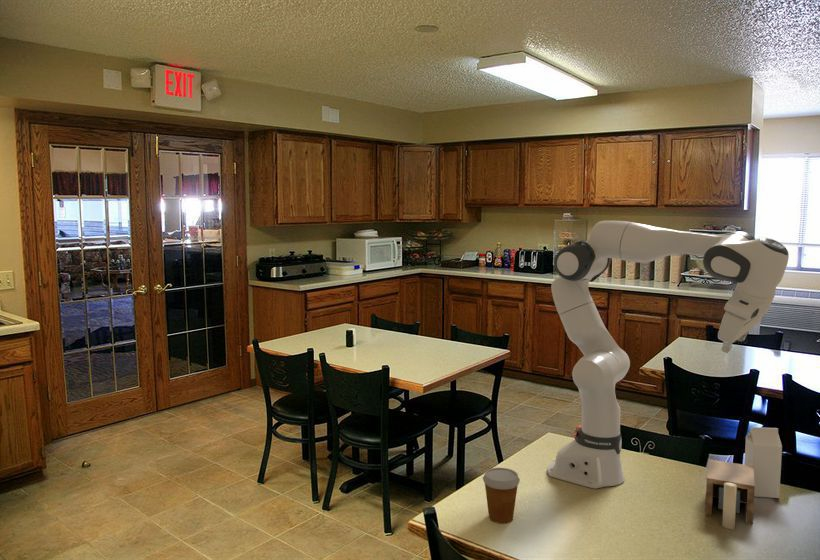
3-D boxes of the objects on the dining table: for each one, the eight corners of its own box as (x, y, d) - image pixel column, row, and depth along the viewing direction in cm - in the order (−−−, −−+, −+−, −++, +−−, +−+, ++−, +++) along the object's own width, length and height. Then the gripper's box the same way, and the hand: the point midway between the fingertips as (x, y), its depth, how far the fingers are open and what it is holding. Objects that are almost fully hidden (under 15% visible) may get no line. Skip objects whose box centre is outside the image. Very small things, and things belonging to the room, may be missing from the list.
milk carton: (779, 498, 171) (783, 432, 169) (751, 496, 173) (754, 431, 171) (769, 487, 178) (773, 424, 176) (743, 485, 180) (746, 422, 178)
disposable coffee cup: (496, 530, 155) (497, 484, 154) (475, 514, 164) (475, 471, 162) (526, 521, 160) (527, 477, 158) (504, 506, 168) (505, 464, 167)
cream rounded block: (717, 526, 156) (719, 485, 155) (718, 501, 170) (720, 462, 169) (739, 531, 154) (741, 489, 153) (739, 504, 168) (741, 466, 167)
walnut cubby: (705, 514, 162) (706, 477, 161) (707, 493, 175) (708, 459, 174) (752, 524, 157) (754, 486, 156) (751, 501, 170) (753, 466, 169)
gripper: (754, 285, 165) (736, 328, 171) (722, 305, 152) (704, 351, 159) (778, 294, 161) (759, 339, 168) (748, 316, 148) (729, 363, 155)
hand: (732, 345), depth 163 cm, fingers open, 8 cm apart
